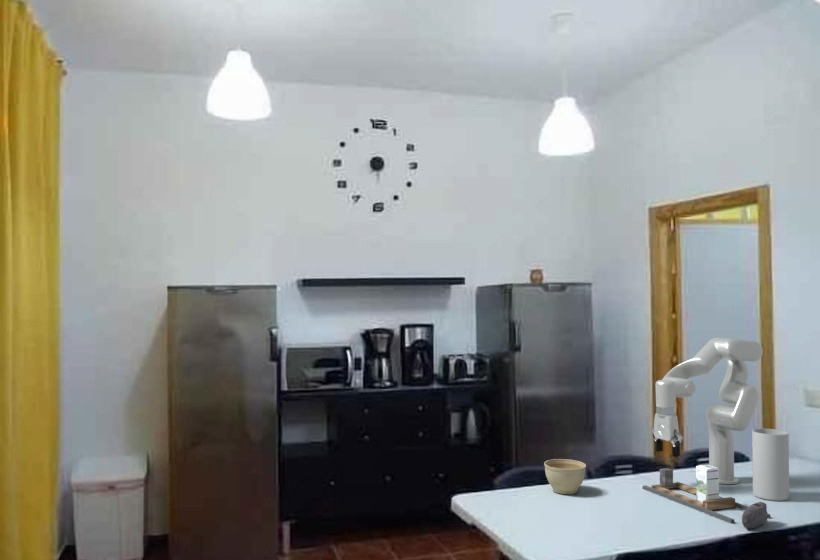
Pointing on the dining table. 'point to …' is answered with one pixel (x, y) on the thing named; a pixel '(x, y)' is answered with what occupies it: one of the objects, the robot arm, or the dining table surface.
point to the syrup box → (707, 482)
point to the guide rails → (696, 505)
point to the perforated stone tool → (755, 515)
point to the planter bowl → (565, 475)
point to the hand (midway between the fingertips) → (667, 453)
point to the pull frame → (667, 483)
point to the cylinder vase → (770, 464)
